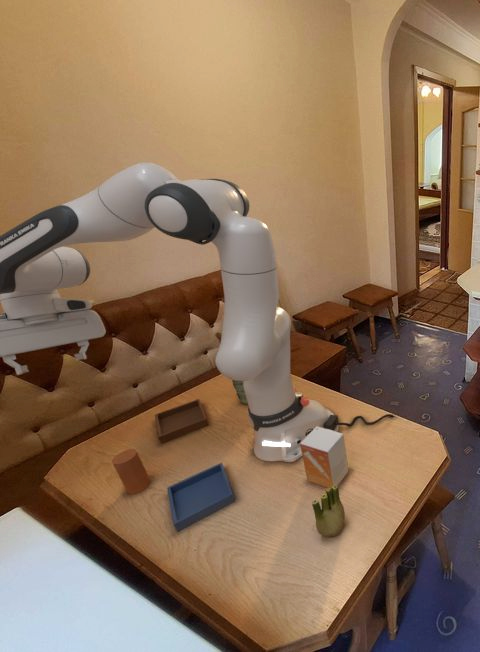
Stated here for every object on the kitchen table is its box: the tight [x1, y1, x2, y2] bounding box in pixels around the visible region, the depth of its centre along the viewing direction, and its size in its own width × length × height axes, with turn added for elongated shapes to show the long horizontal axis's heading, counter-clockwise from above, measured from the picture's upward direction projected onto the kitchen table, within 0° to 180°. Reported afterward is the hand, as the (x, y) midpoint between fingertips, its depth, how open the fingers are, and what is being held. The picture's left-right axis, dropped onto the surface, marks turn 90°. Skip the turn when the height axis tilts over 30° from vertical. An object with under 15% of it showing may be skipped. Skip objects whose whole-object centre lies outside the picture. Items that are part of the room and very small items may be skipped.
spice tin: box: [111, 448, 151, 495], centre depth 86 cm, size 4×4×10 cm
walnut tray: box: [154, 398, 209, 445], centre depth 107 cm, size 11×12×2 cm
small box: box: [300, 427, 350, 489], centre depth 89 cm, size 8×6×13 cm
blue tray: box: [166, 461, 236, 533], centre depth 85 cm, size 11×12×2 cm
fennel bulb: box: [311, 484, 346, 538], centre depth 77 cm, size 6×5×12 cm
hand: (54, 366), depth 83 cm, fingers open, 8 cm apart
